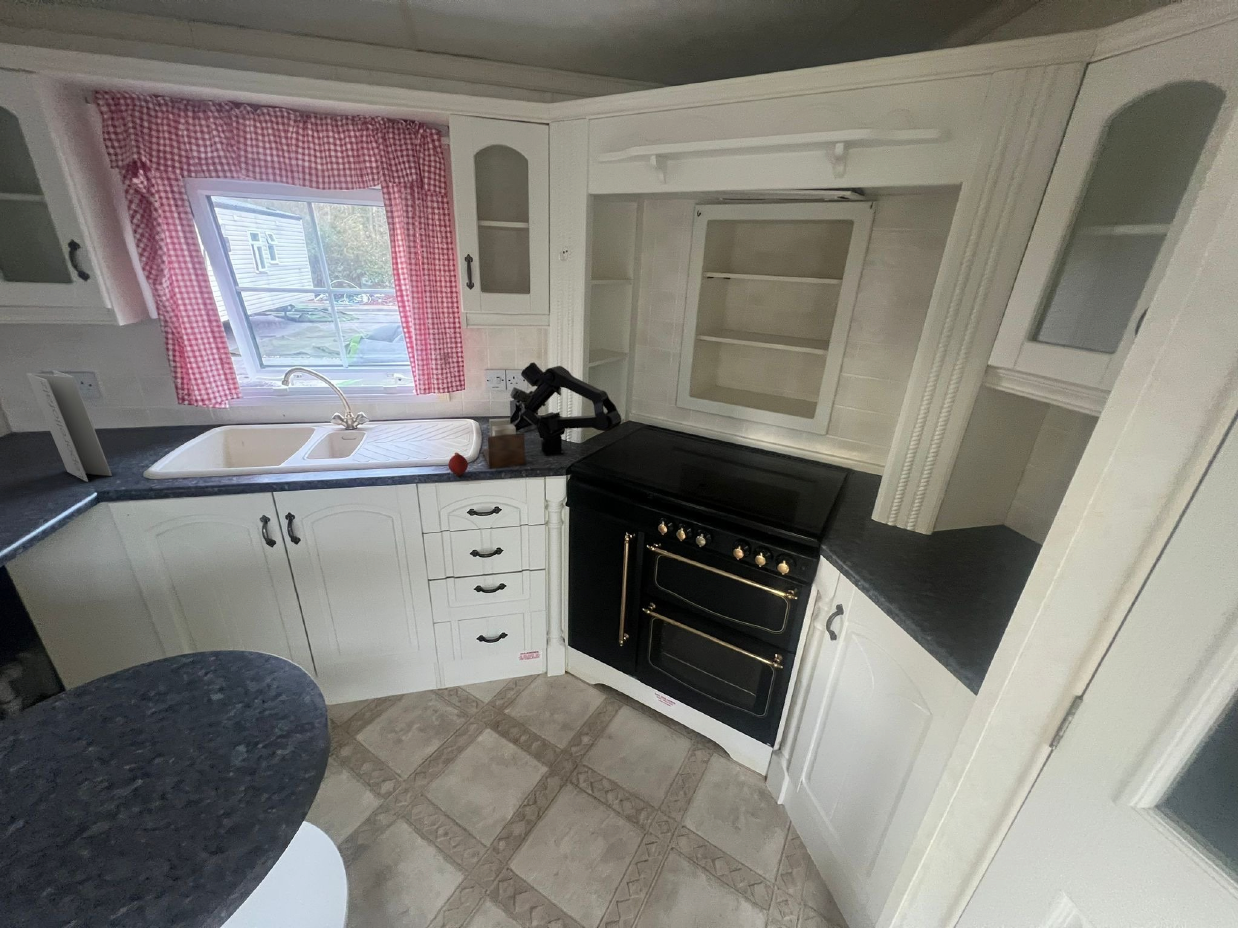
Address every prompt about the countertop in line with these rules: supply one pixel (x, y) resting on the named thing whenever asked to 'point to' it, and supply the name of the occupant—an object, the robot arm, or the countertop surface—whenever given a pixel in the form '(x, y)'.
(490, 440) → the cream-topped brown block
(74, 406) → the brochure
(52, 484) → the countertop surface
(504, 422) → the white book
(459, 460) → the onion
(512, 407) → the grey books
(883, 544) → the countertop surface
